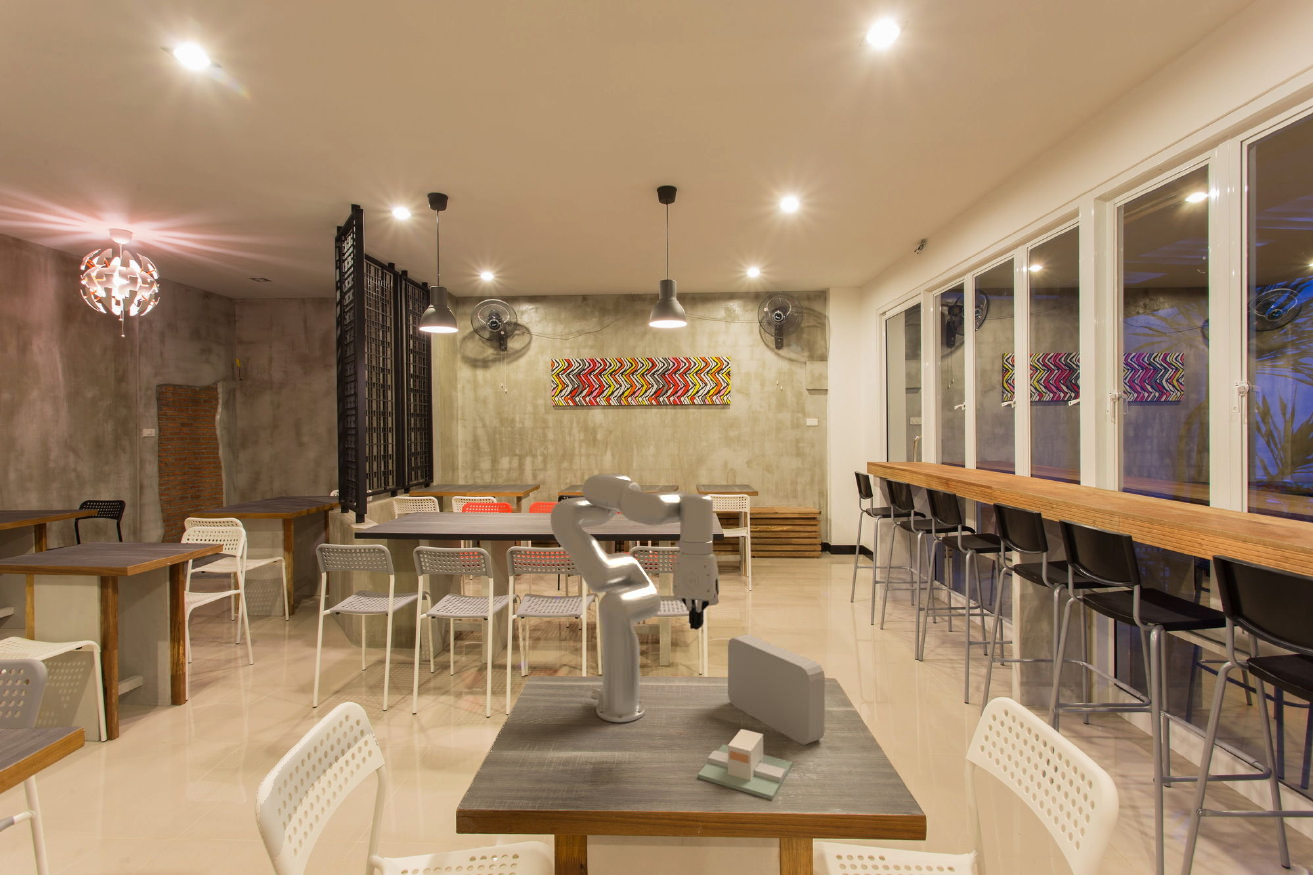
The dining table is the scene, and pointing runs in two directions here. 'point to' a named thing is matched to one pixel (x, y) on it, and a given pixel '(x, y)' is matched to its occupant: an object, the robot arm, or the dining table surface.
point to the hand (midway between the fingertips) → (696, 627)
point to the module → (745, 754)
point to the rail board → (762, 783)
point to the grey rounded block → (777, 688)
